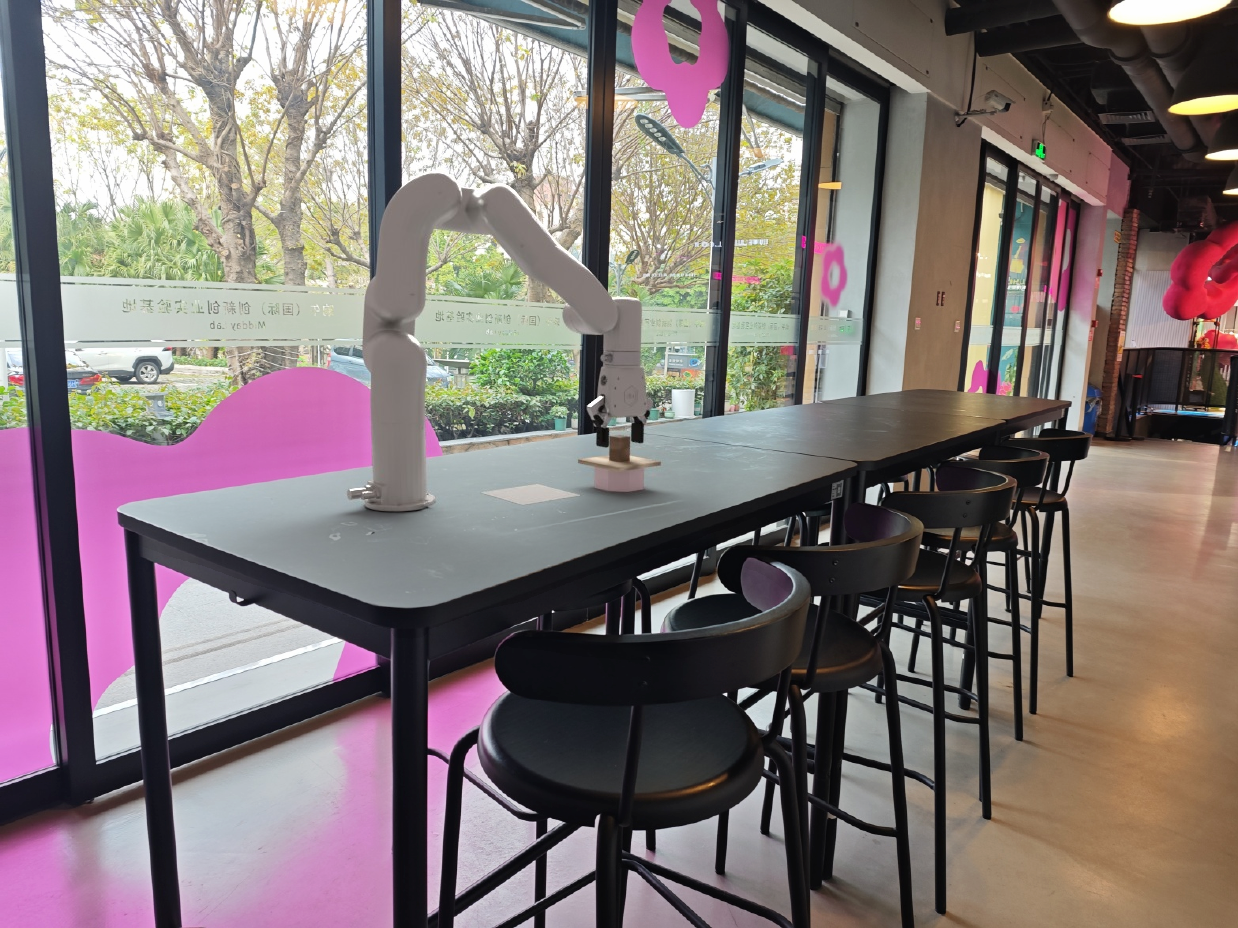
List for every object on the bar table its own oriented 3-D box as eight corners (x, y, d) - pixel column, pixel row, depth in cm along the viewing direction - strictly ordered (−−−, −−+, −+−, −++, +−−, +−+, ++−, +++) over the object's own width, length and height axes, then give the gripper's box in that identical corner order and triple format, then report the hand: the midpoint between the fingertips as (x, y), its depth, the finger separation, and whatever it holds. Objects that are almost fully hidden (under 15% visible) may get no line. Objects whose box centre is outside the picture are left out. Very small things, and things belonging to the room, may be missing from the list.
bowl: (617, 495, 165) (618, 470, 164) (584, 487, 172) (585, 463, 171) (653, 489, 172) (654, 465, 171) (620, 481, 179) (621, 458, 178)
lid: (617, 471, 163) (618, 442, 162) (578, 463, 171) (578, 435, 170) (660, 465, 171) (661, 437, 170) (621, 457, 179) (621, 430, 178)
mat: (522, 507, 153) (522, 505, 153) (479, 494, 163) (479, 492, 163) (580, 497, 163) (581, 495, 163) (537, 485, 173) (537, 483, 173)
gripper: (602, 362, 159) (600, 450, 162) (665, 360, 171) (662, 443, 174) (576, 360, 164) (575, 446, 167) (639, 358, 176) (637, 439, 179)
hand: (620, 444), depth 171 cm, fingers open, 9 cm apart
